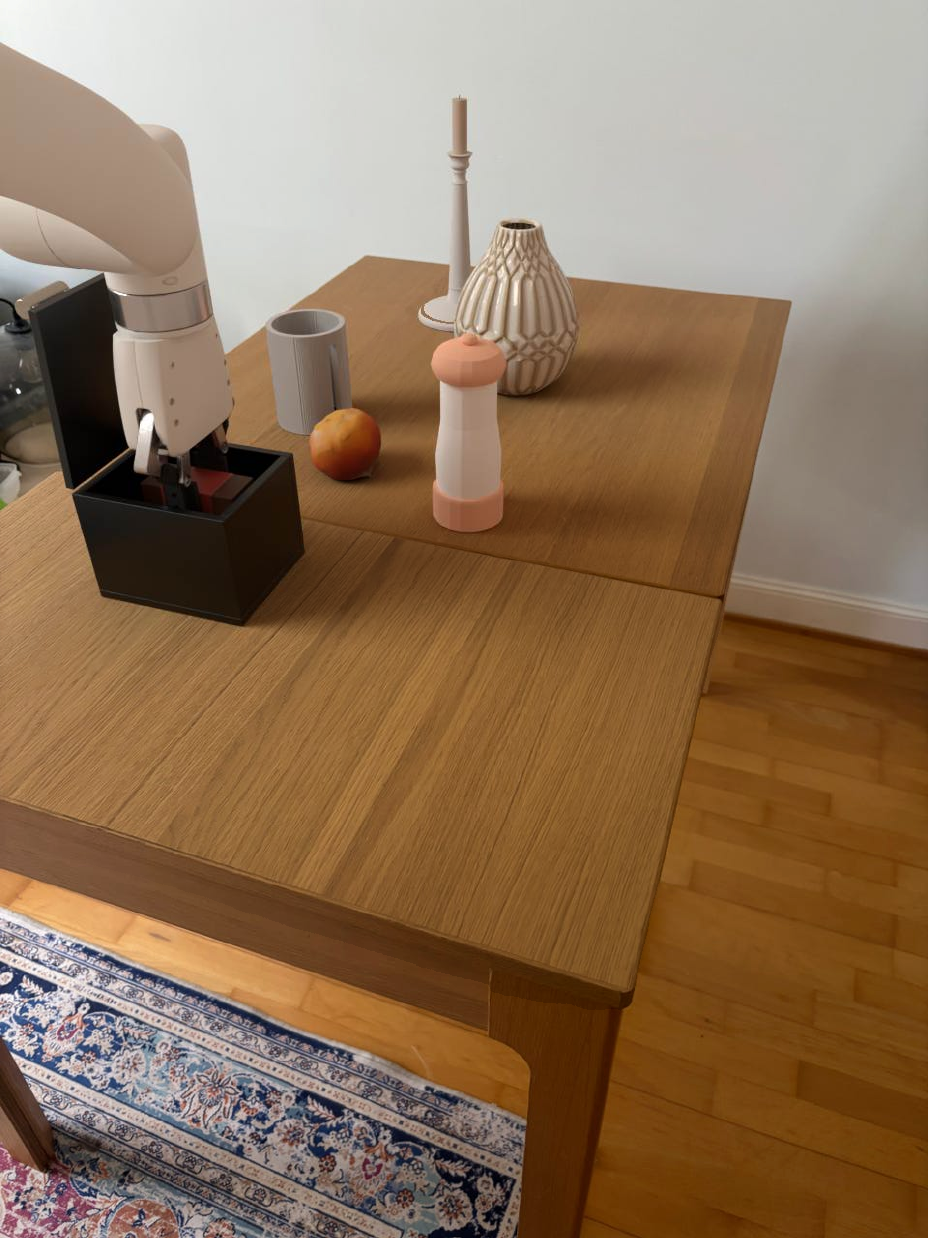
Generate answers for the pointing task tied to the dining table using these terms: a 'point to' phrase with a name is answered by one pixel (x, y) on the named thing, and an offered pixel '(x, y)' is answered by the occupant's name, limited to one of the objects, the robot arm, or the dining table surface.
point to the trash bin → (194, 538)
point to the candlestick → (455, 226)
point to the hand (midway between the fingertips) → (201, 504)
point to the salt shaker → (468, 435)
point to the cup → (308, 367)
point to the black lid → (78, 373)
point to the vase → (521, 307)
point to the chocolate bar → (204, 489)
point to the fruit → (345, 444)
